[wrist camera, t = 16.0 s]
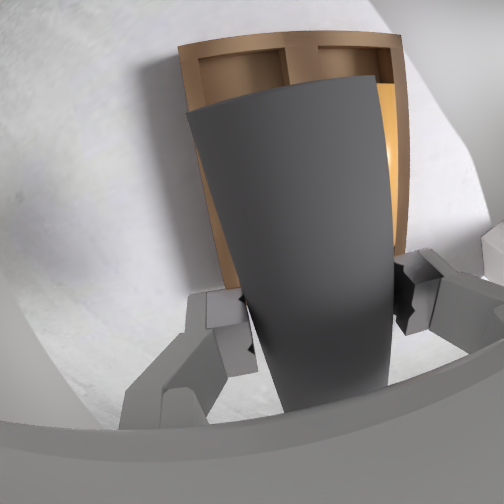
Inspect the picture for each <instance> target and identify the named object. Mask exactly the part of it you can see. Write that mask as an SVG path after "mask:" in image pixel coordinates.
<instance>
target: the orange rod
mask: <svg viewBox="0 0 504 504" xmlns="http://www.w3.org/2000/svg"><path fill="white" fill-rule="evenodd" d="M376 84H377V89H378V95H379V101H380V106H381V113H382V119H383V126H384V133H385V140H386V148H387V157H388V166H389V176H390V187H391V201H392V217H393V242H394V246H395V241H396V226H397V205H398V132H397V111H396V96H395V84H383V83H376Z"/></svg>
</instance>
